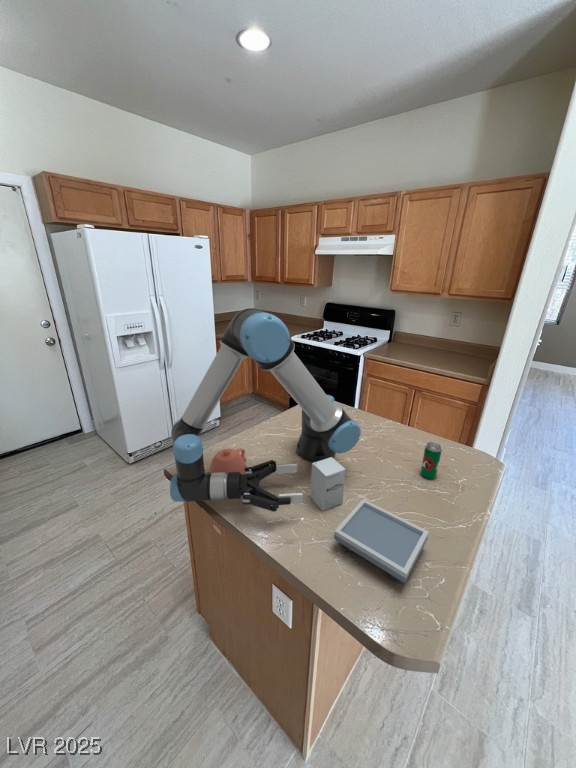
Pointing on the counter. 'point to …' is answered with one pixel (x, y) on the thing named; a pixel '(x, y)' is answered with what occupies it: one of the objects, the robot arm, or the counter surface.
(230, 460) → the sugar bowl
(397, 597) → the counter surface
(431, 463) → the soda can
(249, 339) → the robot arm
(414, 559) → the shallow rimmed tray
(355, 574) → the counter surface
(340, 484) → the supplement box
